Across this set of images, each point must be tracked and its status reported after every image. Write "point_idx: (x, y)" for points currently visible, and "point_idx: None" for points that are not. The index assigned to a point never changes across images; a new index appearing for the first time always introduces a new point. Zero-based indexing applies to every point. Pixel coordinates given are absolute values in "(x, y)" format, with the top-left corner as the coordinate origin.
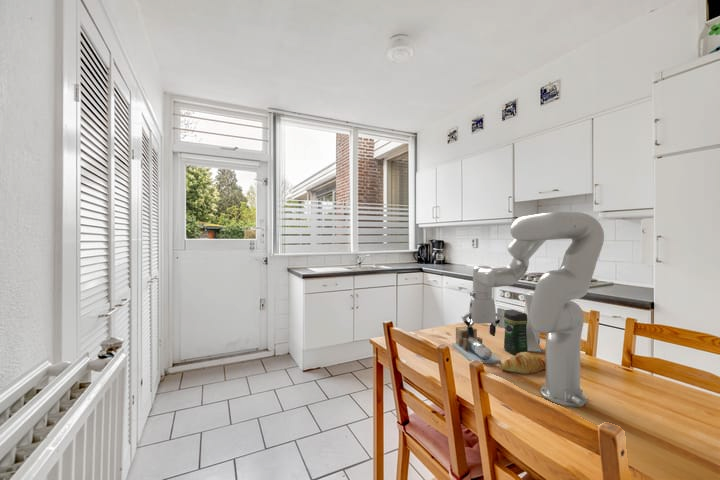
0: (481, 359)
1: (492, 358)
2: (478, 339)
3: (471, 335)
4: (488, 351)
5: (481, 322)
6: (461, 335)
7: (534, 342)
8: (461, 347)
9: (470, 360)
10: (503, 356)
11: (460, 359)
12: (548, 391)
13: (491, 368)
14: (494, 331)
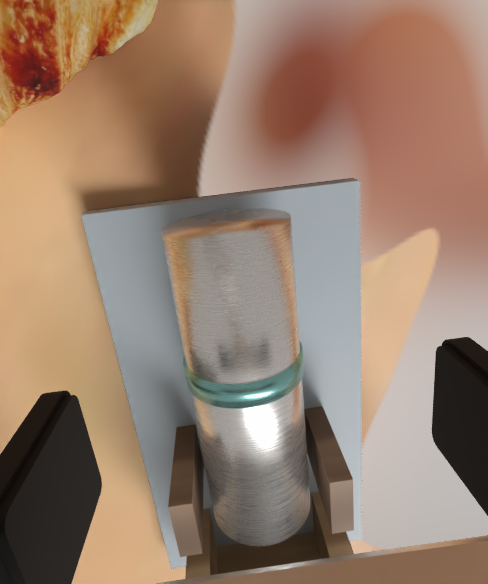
0: None
1: (148, 254)
2: (198, 519)
3: (476, 345)
4: (199, 231)
5: (472, 569)
6: None
7: None
8: None
9: (357, 227)
10: (22, 345)
11: (411, 279)
12: None
13: (220, 72)
14: (19, 442)
